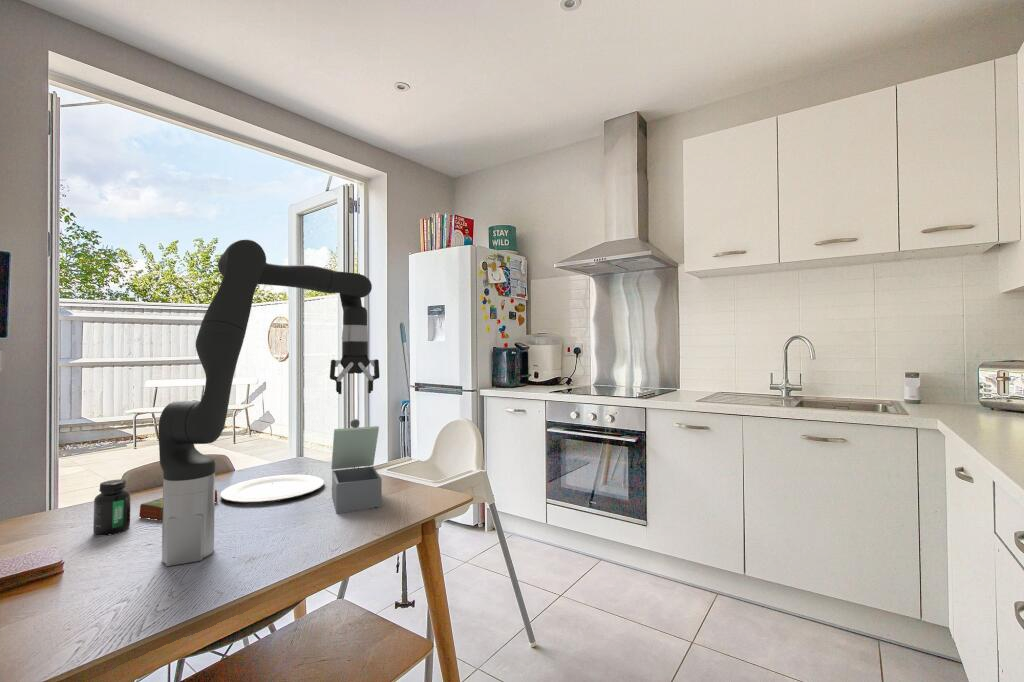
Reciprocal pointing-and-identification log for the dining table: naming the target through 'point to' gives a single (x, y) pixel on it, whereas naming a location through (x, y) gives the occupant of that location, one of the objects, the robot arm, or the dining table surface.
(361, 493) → the box
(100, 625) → the dining table surface
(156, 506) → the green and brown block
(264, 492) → the plate
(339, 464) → the lid
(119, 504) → the supplement bottle
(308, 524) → the dining table surface
